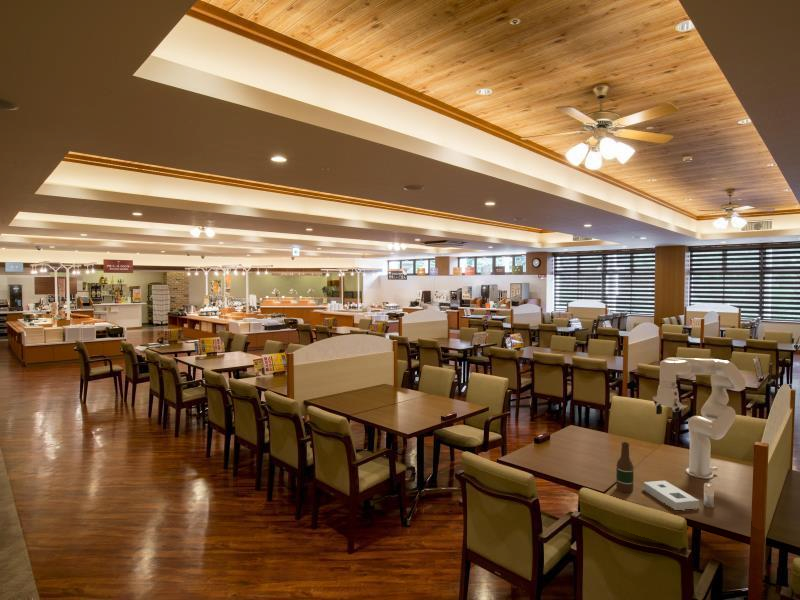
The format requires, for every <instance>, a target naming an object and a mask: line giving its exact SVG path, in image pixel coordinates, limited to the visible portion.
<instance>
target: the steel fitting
mask: <svg viewBox="0 0 800 600" xmlns="http://www.w3.org/2000/svg"><path fill="white" fill-rule="evenodd" d="M704 505H705V506H704ZM703 506H704V507H706V506H707V507H706V508H709V507H713V508H714V507H715V485H714V484H712V483H709V482H704V483H703Z"/></svg>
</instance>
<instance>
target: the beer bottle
mask: <svg viewBox="0 0 800 600" xmlns="http://www.w3.org/2000/svg"><path fill="white" fill-rule="evenodd" d="M620 445H621V453H620V457H619V458H618V460H617V462H616V472H615V473H616V477H615V478H616V480H615V481H616V483H615V484H616V485H615V486H616V488H617V490H618V491H619V492H622V493H629V494H630V493H632V492H634V471H635V470H634V465H633V461H631V459H630V443H629V442H627V441H622V442H621V444H620Z"/></svg>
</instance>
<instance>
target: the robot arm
mask: <svg viewBox="0 0 800 600" xmlns="http://www.w3.org/2000/svg"><path fill="white" fill-rule="evenodd" d="M688 374H692V375H700V376H701V375H702V376H703V375H711V376H710V383H711V394H710V396H709V397H708V399H707V400H706V401H705V403H704V404H703V405H702V407H701V408H700V414H701V415H693V416H691V417H690V418H688V421H687V422H688V423H687V427H688V432H689V462H688V463H689V464H688V465H689V467H687V468H686V469H685V472H686V474H687V475H689V476H691V477H694V478H698V479H713V478H714V473H713V471H714V472H715V471H718V469H719V468H718V467H717V466H712V465H711V440H710V439H713V440H716V441H717V440H721V439H723V438H724V437H725V435H726V434H727V432H728V431H729V430H730V428H731V427H732V426H733V424H734V422H735V420H736V416H737V415H736V410H735V409H734V408H733V407H732V406H729V405H727V404H728V403H729V401H730V398H729V394H728V392H727V390H731V391H734V392H735V391H736V392H741V391H744V390H745V389H746V387H747V386H746V385H747V381H746V379H745V377H744V375H743V373H741V371H740V370H739V368H738V367H737V366H736V365H735V364H734V363H733V362H732V361H729V360H723V359H718V358H695V357H694V358H689V357H688V358H685V357H666V358H665V359H664V360H661V361H660V363H659V384H658V387H657V390H656V391H657V392H656V395H655V396H652V400H653V403H654V404H655V408H656V415H662V414H663V407H662V406H664V407H668V408H671V409H672V412H671V417H672V418H671V419H672V420H678V419H679V412H680V411H681V410H682V408H683V406H684V405H683V404H682V402H680V397H679V395H680V393H679V389H678V383H677V375H681V376H685V375H688Z"/></svg>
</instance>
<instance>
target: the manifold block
mask: <svg viewBox="0 0 800 600" xmlns="http://www.w3.org/2000/svg"><path fill="white" fill-rule="evenodd" d="M642 490H643V491H644V492H646V493H647V494H649V495H651V496H652V497H653V498H655V499H656V500H658V501H660V502H661V503H663V504H664V503H665V504H664V505H666V506H667V505H668V506H667V507H669V506H670V507H672V508H673V509H675V510H682V511H686V510H685V509H693V510H698V509H697V508H699V509H700V500H699V499H697V498H696V497H694V496H692V495H691V494H689V493H687V492H685V491H684V490H682V489H680V488H679V487H677V486H675V485H673V483H672V484H671V483H670V482H668V481H667V480H655V481H643V489H642ZM670 507H669V508H670ZM672 508H671V509H672ZM694 508H695V509H694ZM673 509H672V510H673ZM675 510H674V511H675Z"/></svg>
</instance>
